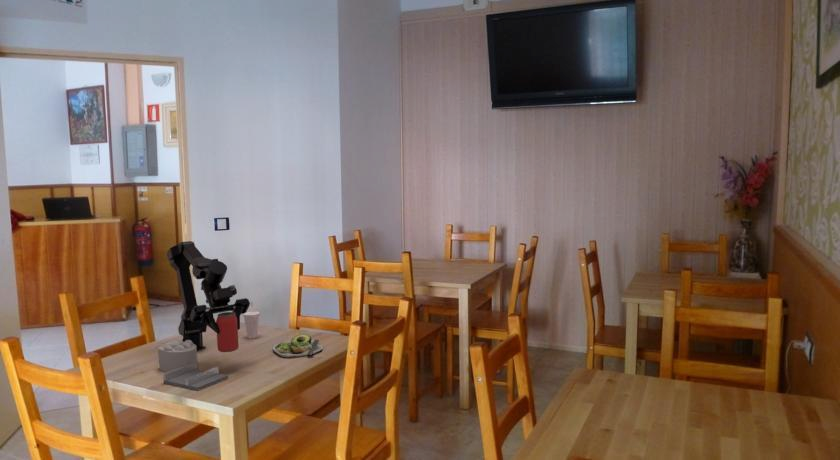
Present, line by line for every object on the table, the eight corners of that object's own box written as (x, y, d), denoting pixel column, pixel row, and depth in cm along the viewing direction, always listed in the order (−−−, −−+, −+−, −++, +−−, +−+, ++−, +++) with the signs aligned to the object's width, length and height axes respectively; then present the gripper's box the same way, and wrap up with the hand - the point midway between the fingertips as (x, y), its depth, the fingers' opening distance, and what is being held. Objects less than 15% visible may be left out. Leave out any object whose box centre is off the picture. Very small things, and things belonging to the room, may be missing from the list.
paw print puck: (183, 360, 214) (181, 336, 213) (205, 367, 207) (204, 342, 206) (155, 368, 206) (153, 343, 205) (177, 376, 198) (176, 349, 198)
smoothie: (264, 336, 244) (262, 301, 243) (251, 340, 239) (250, 304, 237) (252, 334, 247) (251, 300, 246) (240, 338, 242) (238, 303, 241)
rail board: (194, 371, 202) (194, 362, 202) (227, 378, 195) (227, 369, 194) (163, 383, 191) (163, 373, 191) (197, 390, 184) (197, 380, 184)
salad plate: (332, 355, 218) (332, 342, 218) (283, 363, 210) (282, 350, 210) (315, 342, 235) (315, 330, 235) (269, 349, 227) (268, 337, 227)
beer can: (214, 349, 203) (212, 313, 202) (234, 345, 207) (232, 310, 206) (221, 354, 198) (219, 317, 196) (241, 350, 202) (239, 314, 200)
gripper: (191, 281, 197) (206, 322, 190) (246, 274, 209) (262, 312, 202) (183, 302, 204) (198, 341, 196) (237, 294, 216) (253, 331, 208)
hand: (228, 330), depth 201 cm, fingers closed on beer can, 7 cm apart
